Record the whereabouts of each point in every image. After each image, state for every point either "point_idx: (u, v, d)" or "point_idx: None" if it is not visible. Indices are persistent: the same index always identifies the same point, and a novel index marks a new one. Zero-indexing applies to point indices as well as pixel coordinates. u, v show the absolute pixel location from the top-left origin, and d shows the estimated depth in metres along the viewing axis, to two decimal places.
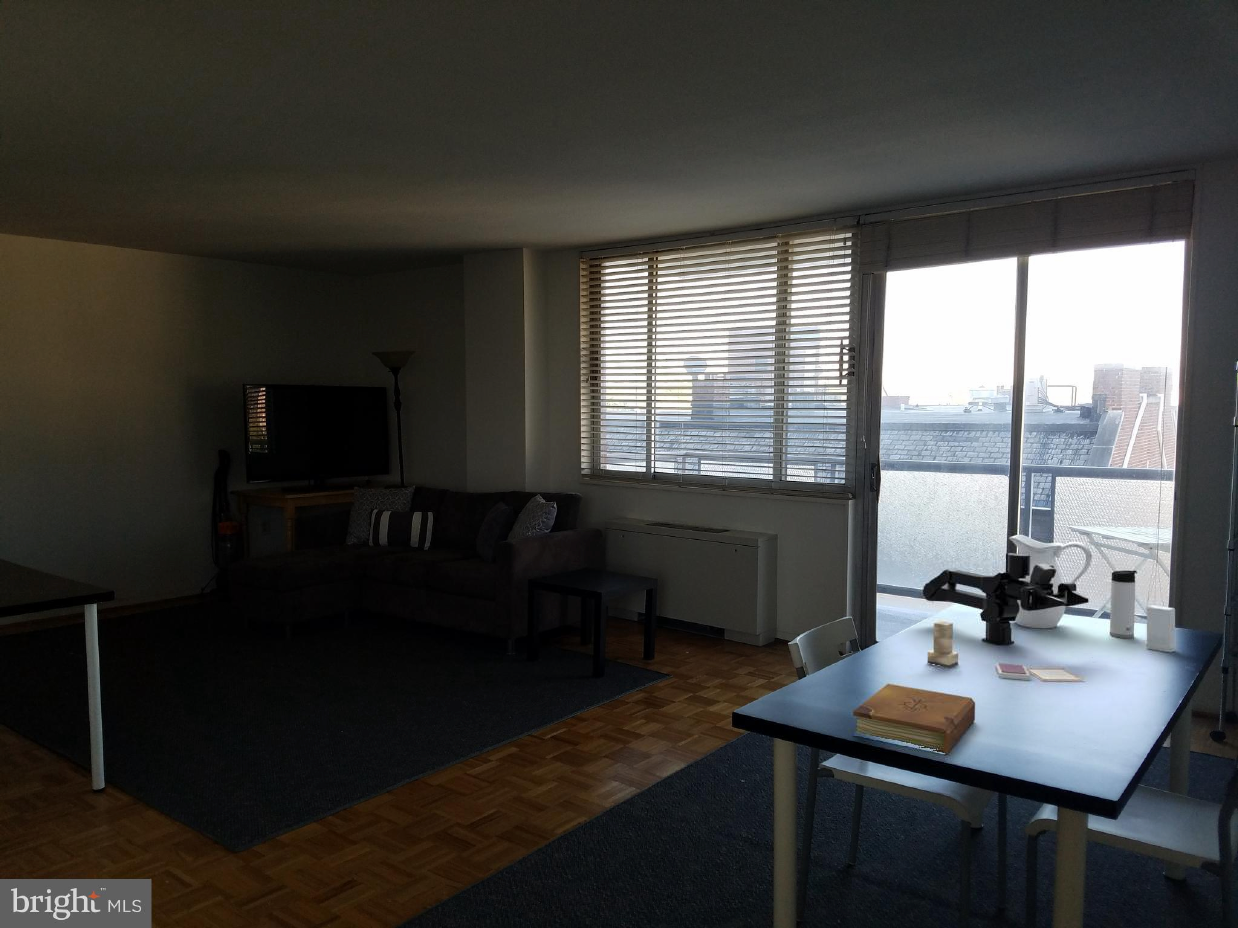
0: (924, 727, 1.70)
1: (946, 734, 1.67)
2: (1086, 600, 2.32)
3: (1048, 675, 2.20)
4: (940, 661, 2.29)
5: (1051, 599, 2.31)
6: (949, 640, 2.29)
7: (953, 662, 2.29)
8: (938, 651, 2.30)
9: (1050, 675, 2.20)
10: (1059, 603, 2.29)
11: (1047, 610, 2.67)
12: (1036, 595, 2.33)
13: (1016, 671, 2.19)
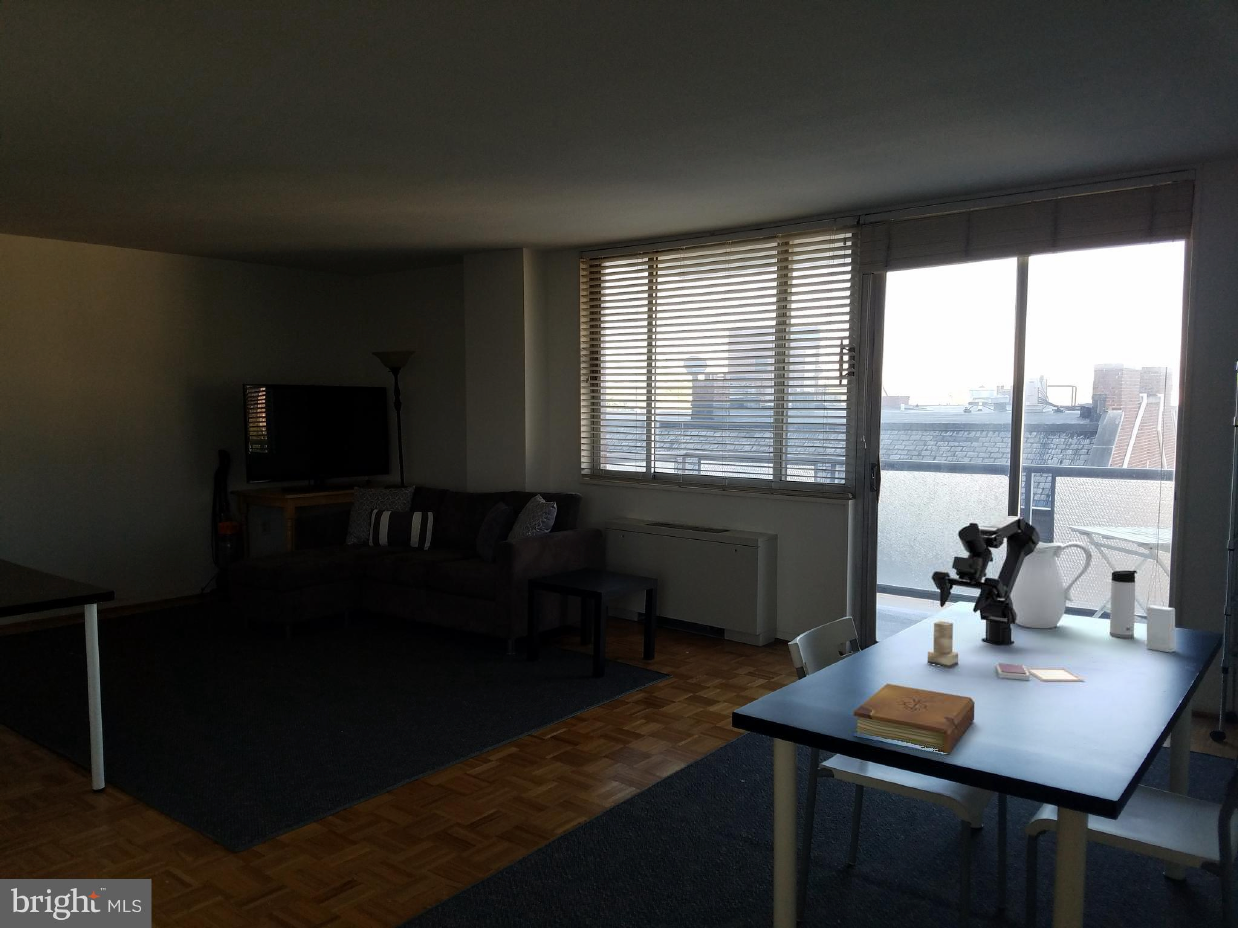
0: (925, 727, 1.69)
1: (947, 735, 1.67)
2: None
3: (1048, 675, 2.20)
4: (940, 661, 2.29)
5: None
6: (949, 640, 2.29)
7: (953, 662, 2.29)
8: (938, 651, 2.30)
9: (1050, 675, 2.20)
10: None
11: (1047, 610, 2.67)
12: None
13: (1016, 671, 2.19)
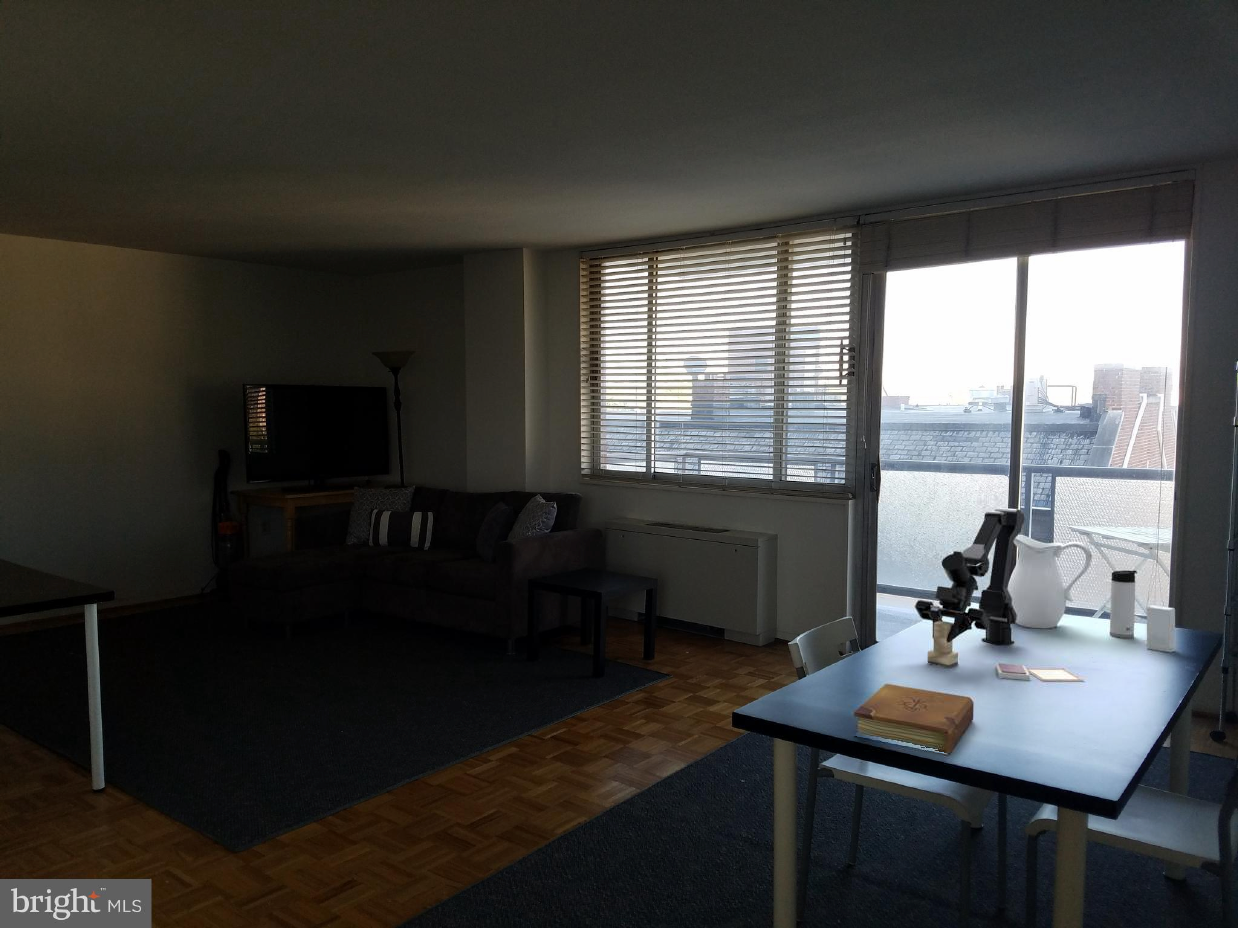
0: (926, 727, 1.69)
1: (948, 734, 1.67)
2: None
3: (1048, 675, 2.20)
4: (940, 661, 2.29)
5: None
6: None
7: (953, 662, 2.29)
8: (938, 651, 2.30)
9: (1050, 675, 2.20)
10: None
11: (1047, 610, 2.67)
12: None
13: (1016, 671, 2.19)
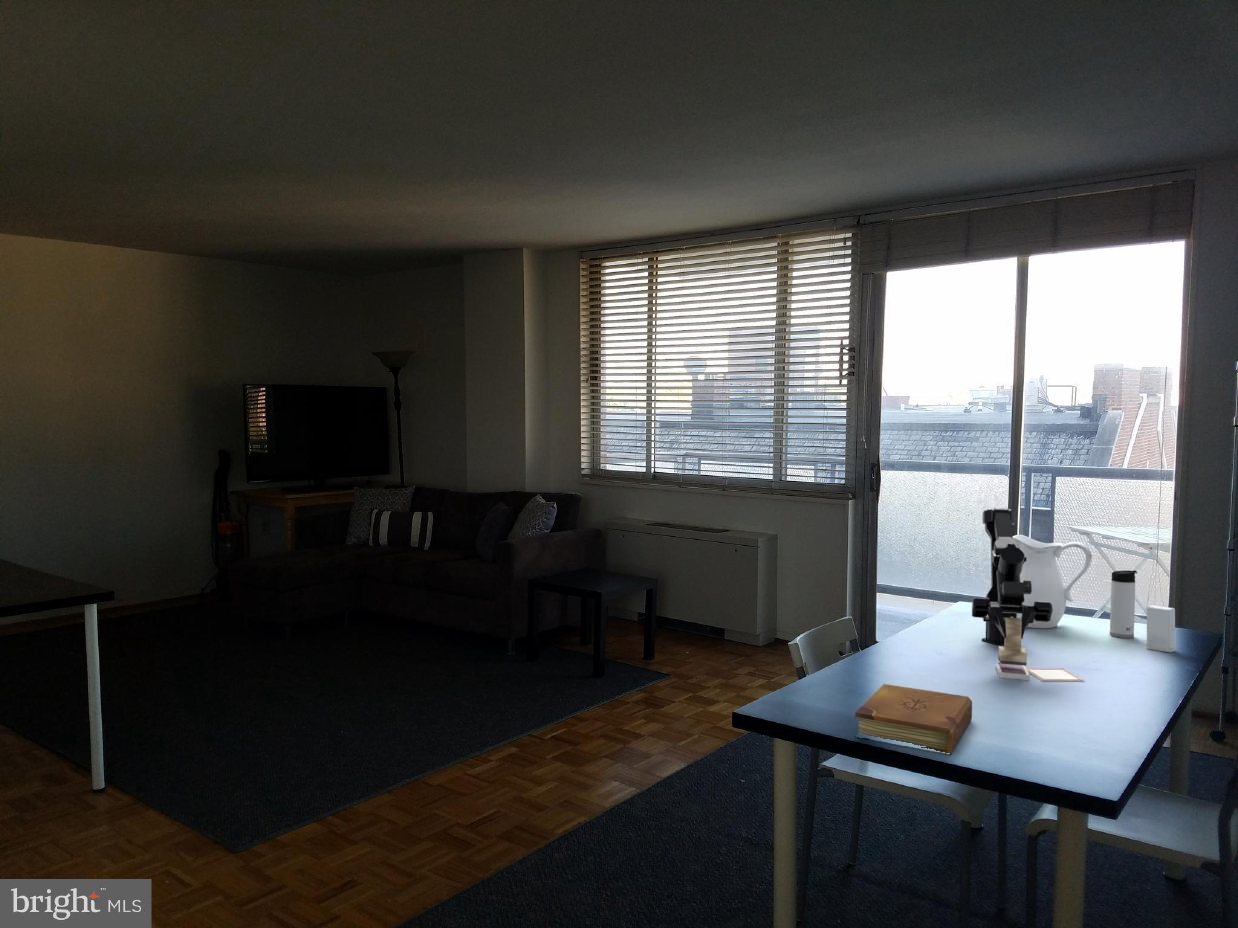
0: (927, 727, 1.69)
1: (950, 734, 1.67)
2: (1021, 636, 2.20)
3: (1048, 675, 2.20)
4: (1016, 659, 2.19)
5: (1000, 624, 2.22)
6: None
7: None
8: (1011, 649, 2.20)
9: (1050, 675, 2.20)
10: (1002, 634, 2.21)
11: None
12: (993, 612, 2.25)
13: (1016, 671, 2.19)
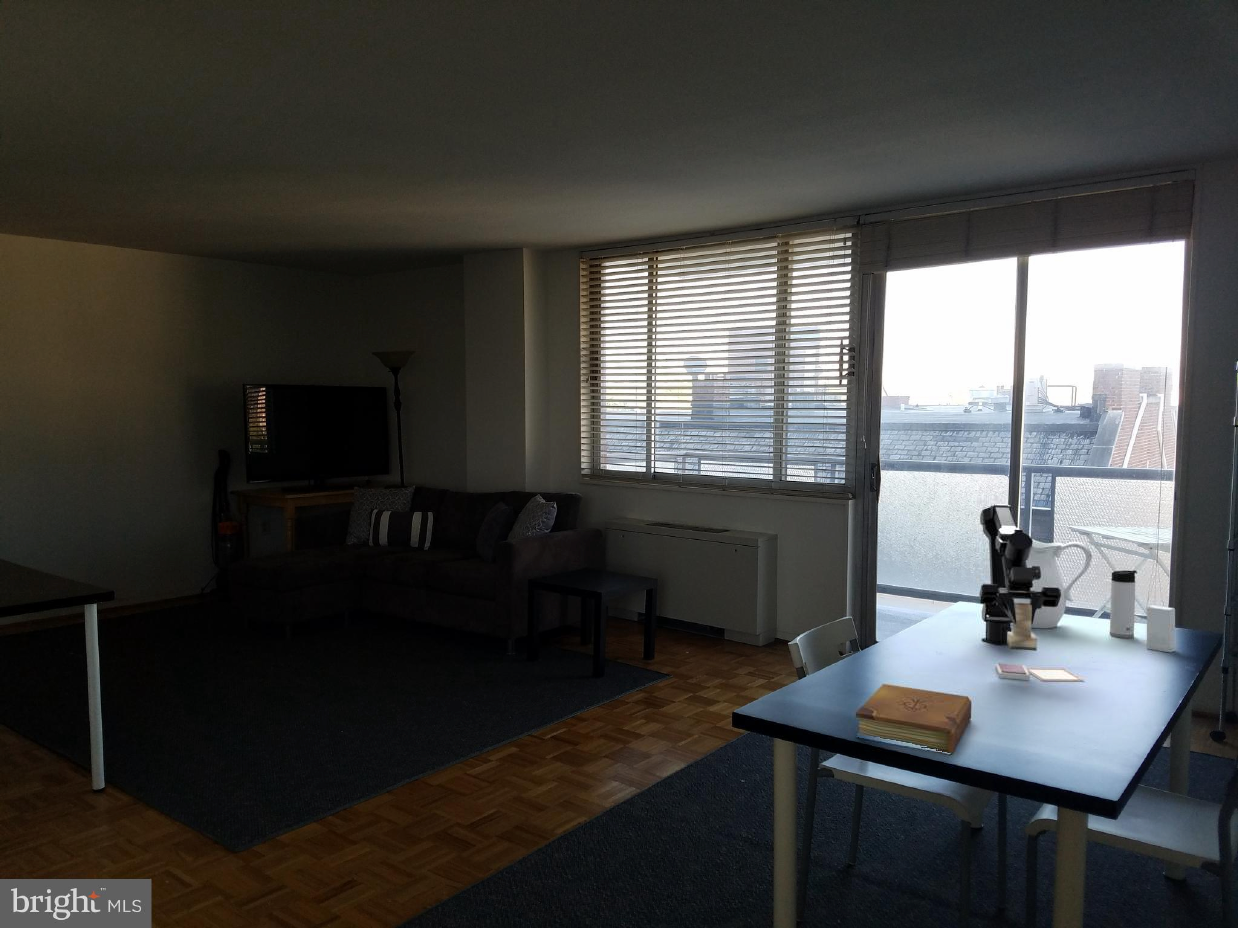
0: (928, 727, 1.69)
1: (951, 734, 1.67)
2: (1031, 622, 2.19)
3: (1048, 675, 2.20)
4: (1026, 645, 2.18)
5: (1010, 610, 2.21)
6: None
7: None
8: (1021, 635, 2.19)
9: (1050, 675, 2.20)
10: (1012, 619, 2.21)
11: (1047, 610, 2.67)
12: (1002, 598, 2.24)
13: (1016, 671, 2.19)
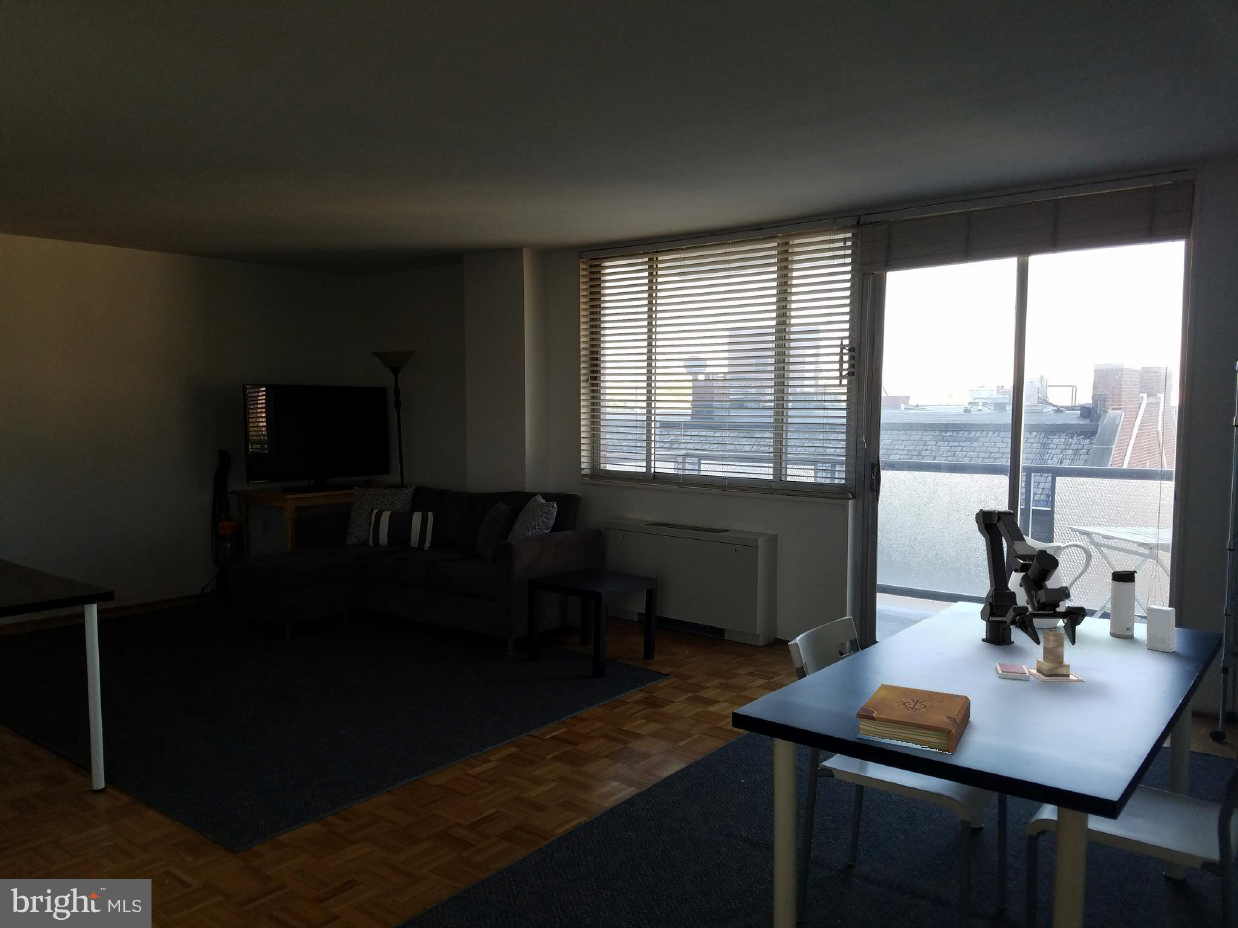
0: (929, 727, 1.69)
1: (952, 734, 1.67)
2: (1073, 643, 2.19)
3: None
4: (1060, 672, 2.18)
5: (1032, 632, 2.20)
6: None
7: None
8: (1055, 662, 2.19)
9: None
10: (1036, 641, 2.20)
11: None
12: (1023, 619, 2.22)
13: (1016, 671, 2.19)
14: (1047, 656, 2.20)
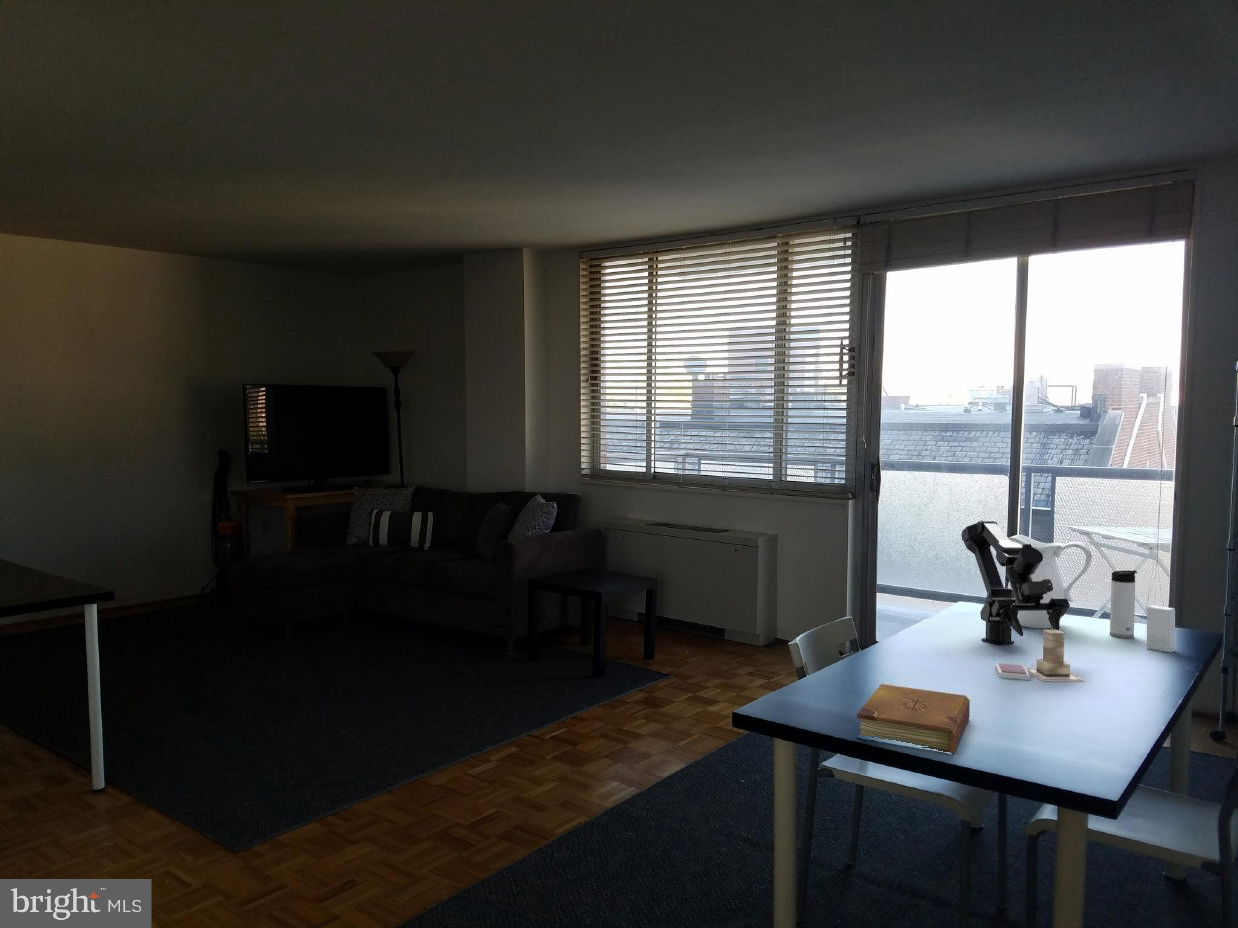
0: (930, 727, 1.69)
1: (953, 734, 1.67)
2: None
3: None
4: (1060, 672, 2.18)
5: (1015, 623, 2.30)
6: None
7: None
8: (1055, 662, 2.19)
9: None
10: (1019, 632, 2.29)
11: None
12: (1006, 612, 2.32)
13: (1016, 671, 2.19)
14: (1047, 656, 2.20)
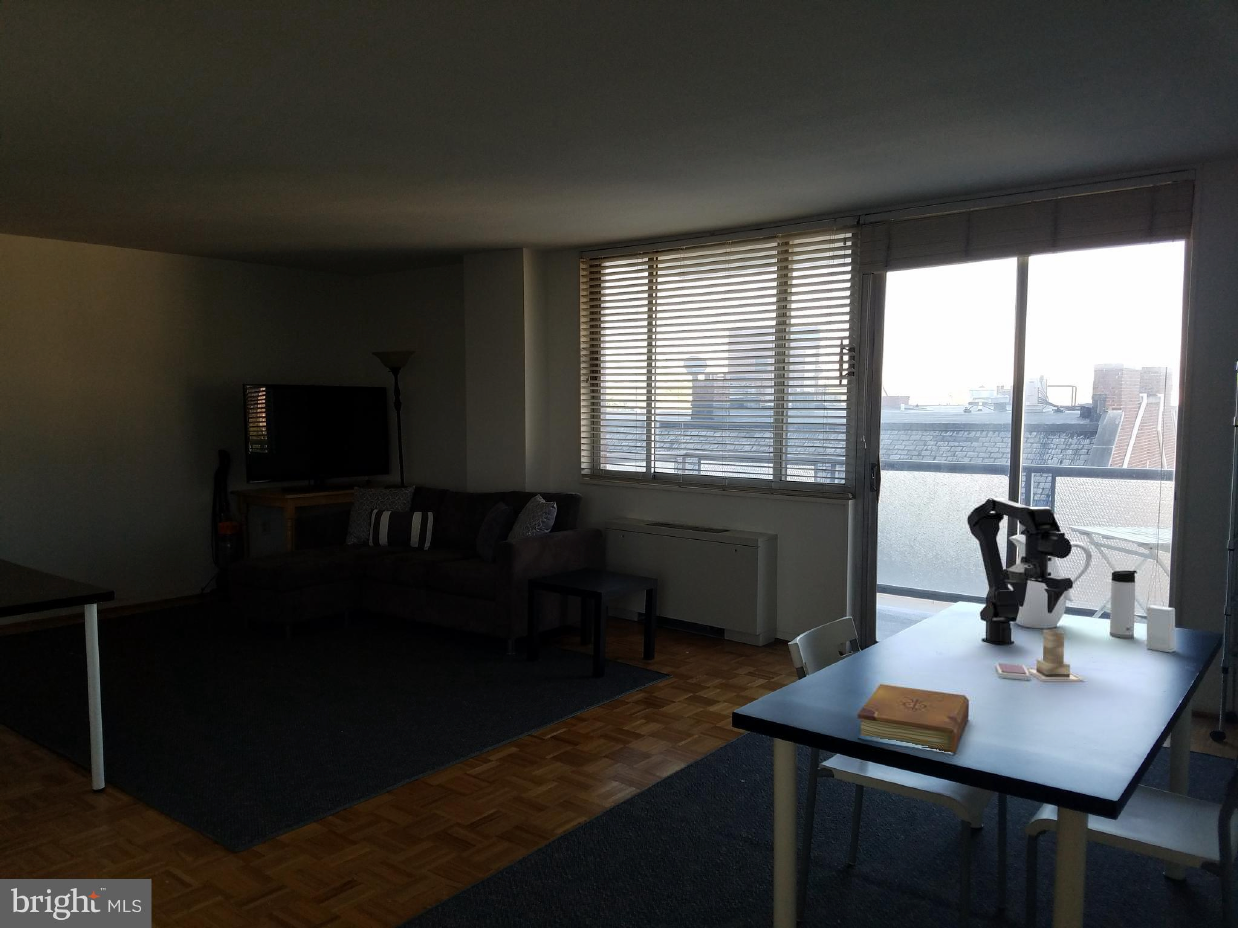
0: (931, 727, 1.69)
1: (954, 734, 1.67)
2: None
3: None
4: (1060, 672, 2.18)
5: None
6: None
7: None
8: (1055, 662, 2.19)
9: None
10: None
11: (1047, 610, 2.67)
12: None
13: (1016, 671, 2.19)
14: (1047, 656, 2.20)
